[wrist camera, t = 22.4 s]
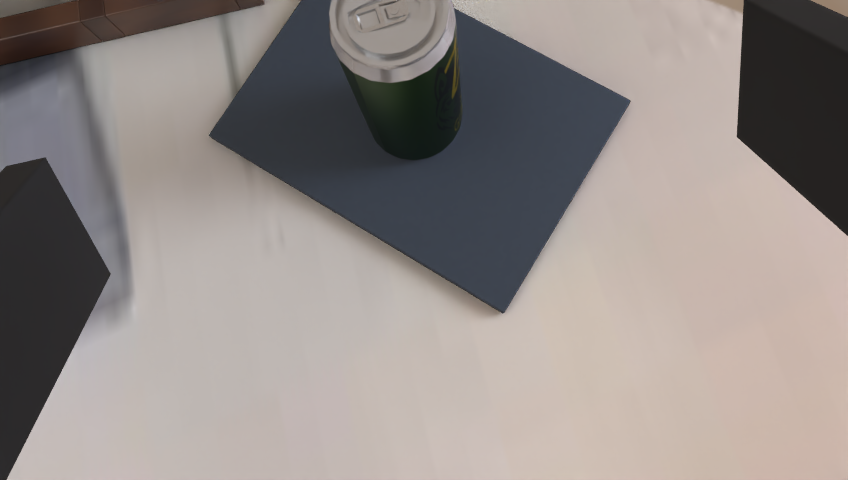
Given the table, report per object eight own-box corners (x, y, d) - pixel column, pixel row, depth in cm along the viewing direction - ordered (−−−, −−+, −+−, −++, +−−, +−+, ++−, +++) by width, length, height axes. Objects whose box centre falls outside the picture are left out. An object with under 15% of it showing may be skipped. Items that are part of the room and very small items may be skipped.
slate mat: (212, 138, 41) (208, 135, 41) (339, -48, 43) (337, -54, 43) (503, 314, 38) (503, 312, 37) (628, 104, 40) (631, 100, 39)
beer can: (384, 176, 39) (344, 89, 28) (358, 92, 41) (308, -25, 29) (475, 147, 39) (472, 47, 28) (446, 63, 40) (431, -66, 29)
